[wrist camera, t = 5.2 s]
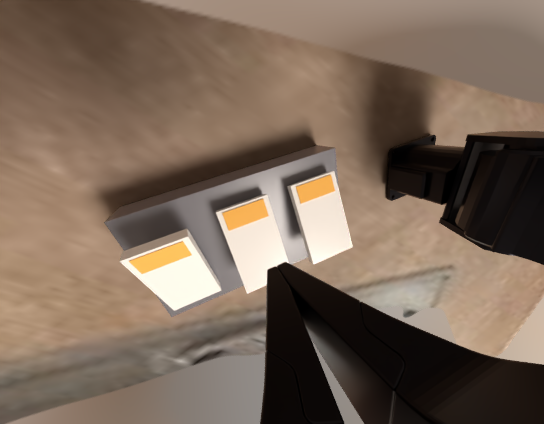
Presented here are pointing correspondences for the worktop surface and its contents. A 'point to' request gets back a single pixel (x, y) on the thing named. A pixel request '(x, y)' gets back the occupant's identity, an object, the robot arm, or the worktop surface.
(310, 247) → the rocker
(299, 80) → the worktop surface
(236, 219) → the rocker middle
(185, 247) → the plate
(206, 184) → the switch panel
